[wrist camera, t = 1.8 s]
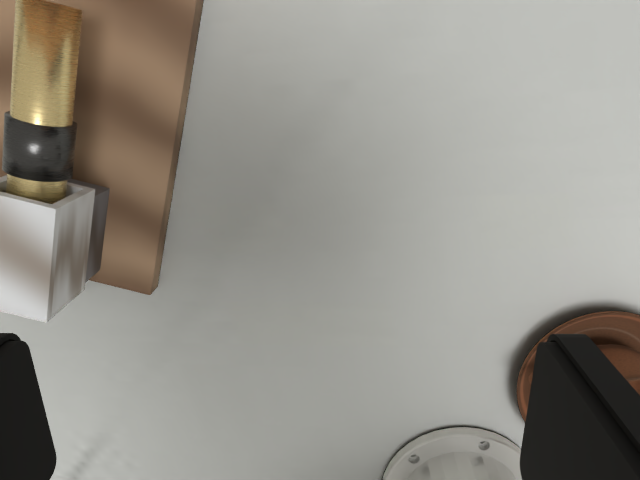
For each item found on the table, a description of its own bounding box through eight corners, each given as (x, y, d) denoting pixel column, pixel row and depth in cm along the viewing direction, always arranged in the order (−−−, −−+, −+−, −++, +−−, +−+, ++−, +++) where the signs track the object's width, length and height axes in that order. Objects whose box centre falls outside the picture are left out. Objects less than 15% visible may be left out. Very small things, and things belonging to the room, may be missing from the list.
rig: (157, 286, 38) (108, 345, 30) (-5, 246, 37) (-98, 295, 29) (216, -78, 30) (170, -129, 22) (11, -135, 29) (-111, -208, 21)
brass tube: (72, 283, 33) (42, 308, 30) (19, 270, 33) (-17, 293, 30) (99, 14, 28) (66, 7, 24) (35, -3, 28) (-7, -12, 24)
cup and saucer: (505, 439, 41) (532, 502, 35) (513, 304, 37) (545, 349, 31) (661, 435, 40) (715, 498, 34) (685, 297, 36) (751, 341, 31)
